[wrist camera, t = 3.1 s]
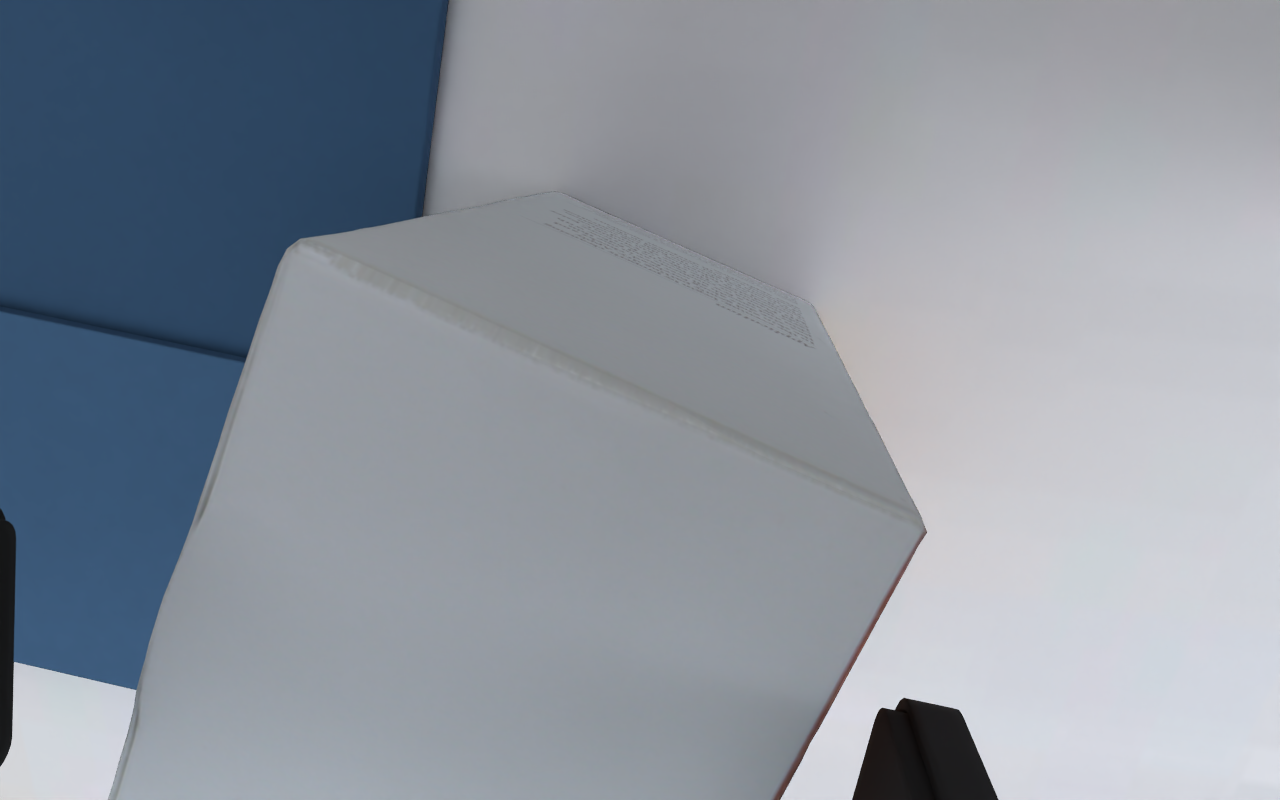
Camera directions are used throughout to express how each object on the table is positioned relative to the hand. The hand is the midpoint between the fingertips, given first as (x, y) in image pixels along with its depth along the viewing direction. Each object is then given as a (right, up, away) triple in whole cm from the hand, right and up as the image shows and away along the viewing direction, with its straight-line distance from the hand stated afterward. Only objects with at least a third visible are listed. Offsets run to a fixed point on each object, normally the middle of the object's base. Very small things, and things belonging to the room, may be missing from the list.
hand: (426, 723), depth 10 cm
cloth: (-9, +6, +12) cm, 16 cm away
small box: (+2, +3, +12) cm, 12 cm away
